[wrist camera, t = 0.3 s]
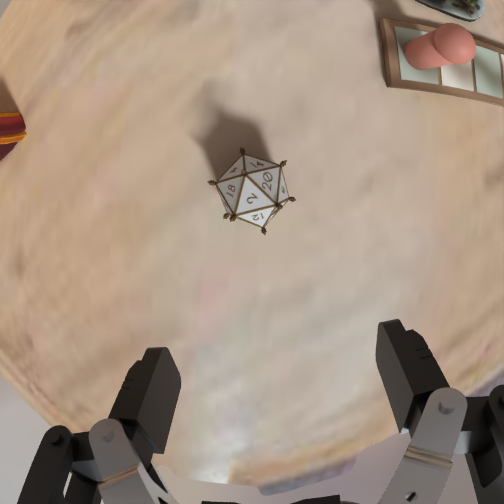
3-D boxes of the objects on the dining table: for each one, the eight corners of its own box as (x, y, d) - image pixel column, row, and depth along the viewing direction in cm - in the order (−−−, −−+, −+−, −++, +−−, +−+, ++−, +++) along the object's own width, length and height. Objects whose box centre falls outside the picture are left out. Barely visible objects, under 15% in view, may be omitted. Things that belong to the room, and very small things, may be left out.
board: (379, 21, 27) (383, 17, 25) (520, 59, 25) (527, 58, 23) (387, 87, 31) (392, 86, 29) (525, 112, 29) (532, 113, 27)
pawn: (399, 36, 26) (445, 14, 16) (430, 41, 26) (480, 25, 16) (404, 69, 28) (452, 57, 18) (434, 73, 28) (486, 66, 18)
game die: (245, 165, 39) (224, 122, 30) (307, 186, 37) (303, 144, 27) (215, 227, 38) (183, 198, 29) (278, 253, 36) (265, 229, 26)
